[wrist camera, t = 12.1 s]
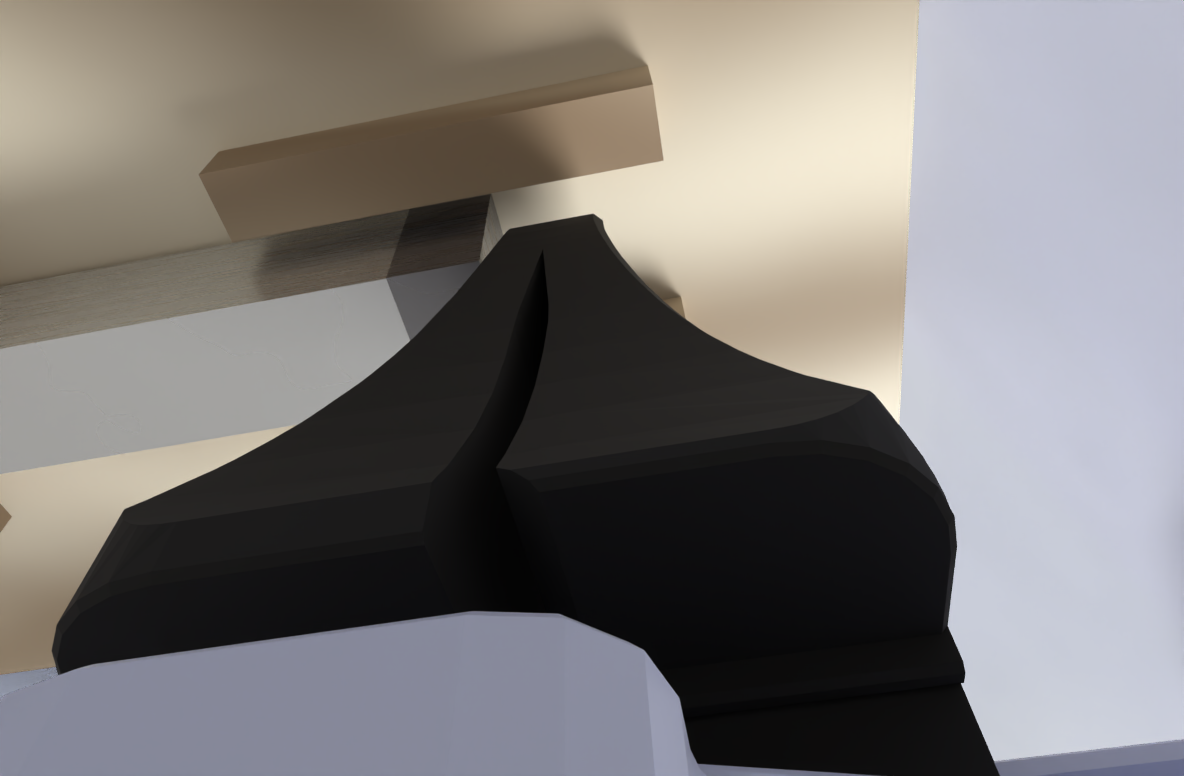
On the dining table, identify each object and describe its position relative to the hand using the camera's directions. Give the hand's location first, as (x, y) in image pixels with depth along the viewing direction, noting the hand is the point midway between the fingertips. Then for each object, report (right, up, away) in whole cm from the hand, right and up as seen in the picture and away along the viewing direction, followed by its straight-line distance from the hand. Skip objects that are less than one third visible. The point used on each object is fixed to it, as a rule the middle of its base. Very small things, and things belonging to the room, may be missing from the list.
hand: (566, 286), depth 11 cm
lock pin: (-6, 0, +2) cm, 6 cm away
